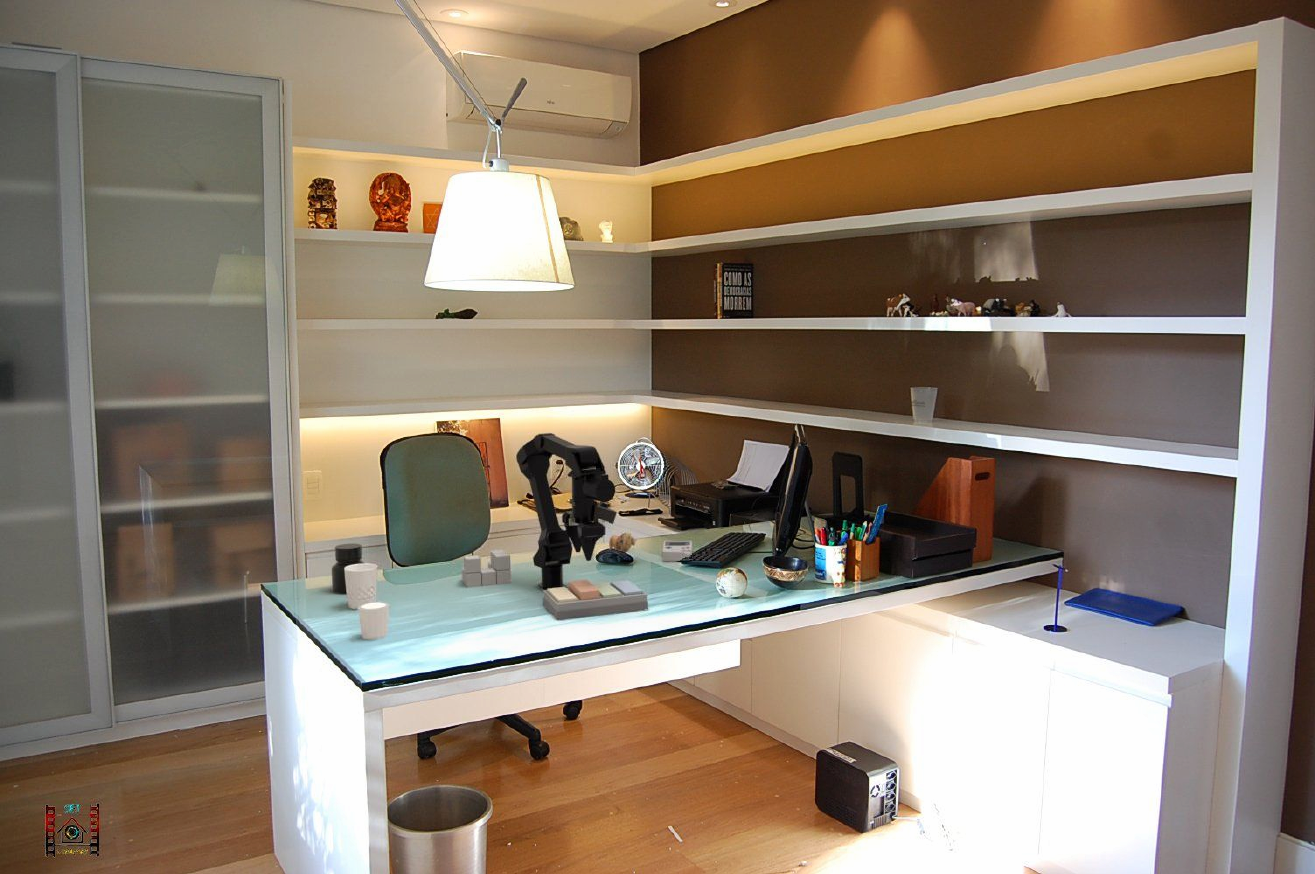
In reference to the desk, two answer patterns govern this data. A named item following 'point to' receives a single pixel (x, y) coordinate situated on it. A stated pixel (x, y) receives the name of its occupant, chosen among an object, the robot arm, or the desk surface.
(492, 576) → the grey stacked cubes
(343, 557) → the ink bottle
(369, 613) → the white cylinder
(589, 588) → the terracotta key
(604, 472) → the robot arm
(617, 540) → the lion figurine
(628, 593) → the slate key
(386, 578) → the desk surface
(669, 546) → the handheld gaming device
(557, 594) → the sand key
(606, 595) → the sage key
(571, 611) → the pastel key tray
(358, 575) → the white cup
